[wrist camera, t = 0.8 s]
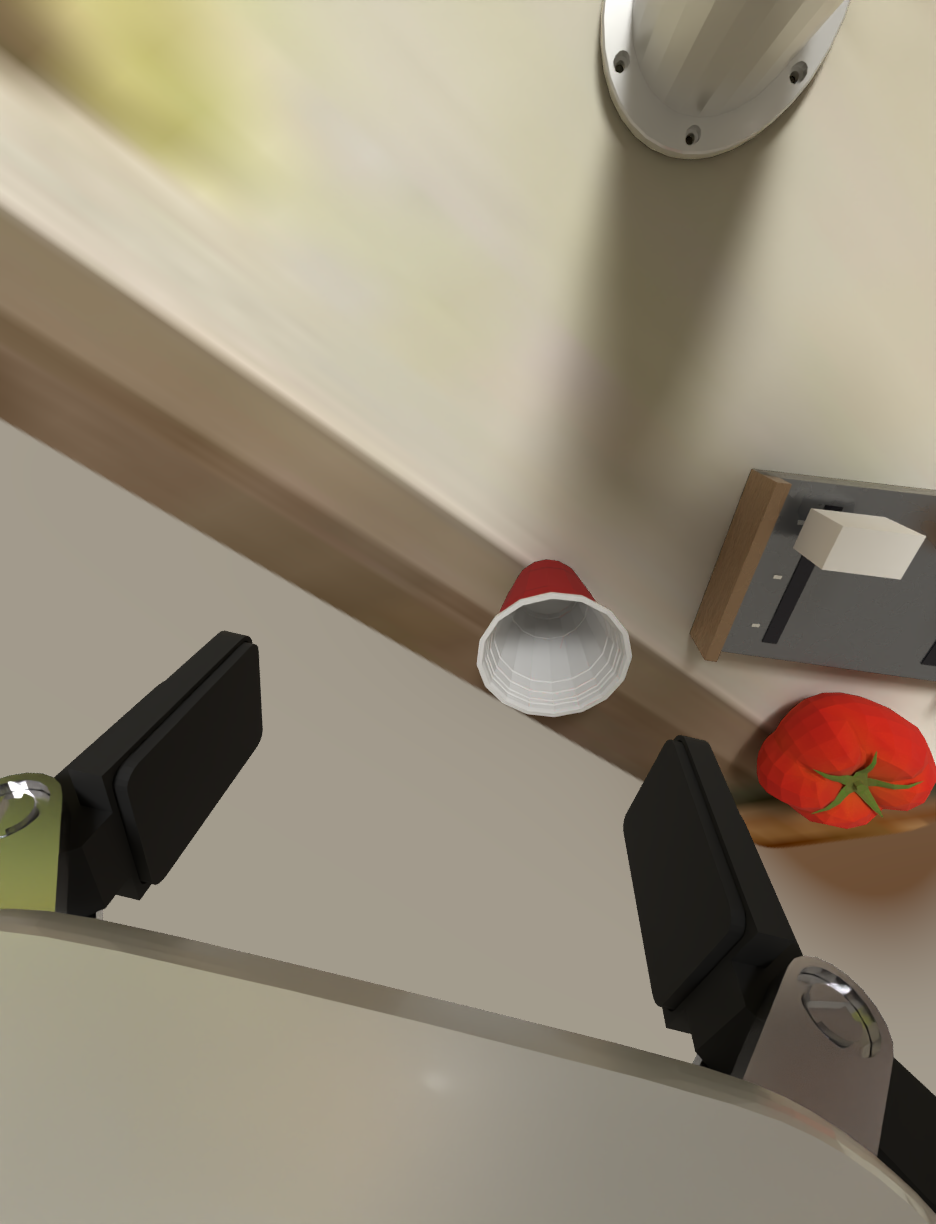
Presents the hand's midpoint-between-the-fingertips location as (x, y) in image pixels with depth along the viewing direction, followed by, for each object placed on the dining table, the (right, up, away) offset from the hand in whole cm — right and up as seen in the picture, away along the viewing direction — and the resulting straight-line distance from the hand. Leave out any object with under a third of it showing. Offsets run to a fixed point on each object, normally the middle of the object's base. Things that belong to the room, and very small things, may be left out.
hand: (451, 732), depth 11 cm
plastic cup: (+8, +5, +33) cm, 34 cm away
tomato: (+35, -8, +36) cm, 51 cm away
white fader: (+27, +9, +24) cm, 38 cm away
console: (+33, +6, +29) cm, 44 cm away
